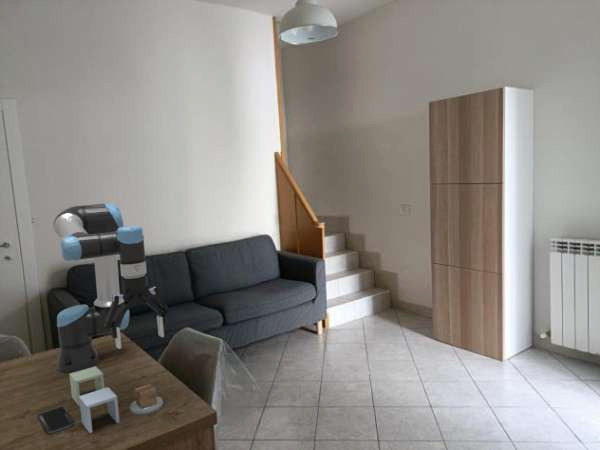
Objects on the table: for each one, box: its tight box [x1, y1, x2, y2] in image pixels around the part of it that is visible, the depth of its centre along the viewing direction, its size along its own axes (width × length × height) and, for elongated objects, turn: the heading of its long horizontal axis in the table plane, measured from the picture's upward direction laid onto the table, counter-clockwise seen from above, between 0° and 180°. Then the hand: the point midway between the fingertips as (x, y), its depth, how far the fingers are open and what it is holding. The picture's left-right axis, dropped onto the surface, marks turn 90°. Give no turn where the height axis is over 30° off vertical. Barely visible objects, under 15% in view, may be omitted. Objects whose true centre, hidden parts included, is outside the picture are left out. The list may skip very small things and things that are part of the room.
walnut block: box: [134, 383, 157, 409], centre depth 149 cm, size 5×5×5 cm
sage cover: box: [69, 365, 105, 407], centre depth 158 cm, size 9×9×8 cm
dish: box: [129, 396, 164, 416], centre depth 149 cm, size 10×10×1 cm
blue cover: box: [79, 386, 121, 434], centre depth 141 cm, size 9×9×8 cm
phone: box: [37, 406, 76, 436], centre depth 143 cm, size 8×1×15 cm
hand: (140, 341), depth 147 cm, fingers open, 13 cm apart
